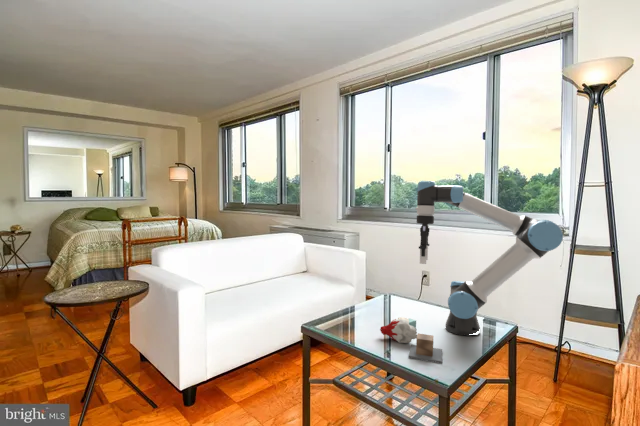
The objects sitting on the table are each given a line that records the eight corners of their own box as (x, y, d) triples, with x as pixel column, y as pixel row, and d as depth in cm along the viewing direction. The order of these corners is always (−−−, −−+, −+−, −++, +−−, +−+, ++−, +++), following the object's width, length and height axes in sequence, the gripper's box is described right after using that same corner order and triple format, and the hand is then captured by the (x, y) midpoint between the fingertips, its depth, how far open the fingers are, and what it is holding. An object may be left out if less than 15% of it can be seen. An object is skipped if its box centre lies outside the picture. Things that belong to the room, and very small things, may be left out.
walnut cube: (433, 350, 136) (433, 335, 136) (432, 356, 130) (433, 340, 130) (417, 348, 138) (417, 333, 138) (416, 354, 132) (416, 338, 132)
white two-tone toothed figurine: (418, 345, 142) (381, 346, 144) (415, 335, 153) (380, 336, 155) (416, 323, 142) (379, 325, 144) (413, 315, 153) (379, 316, 155)
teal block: (415, 328, 164) (416, 320, 164) (408, 331, 160) (408, 322, 160) (408, 326, 167) (409, 318, 167) (401, 329, 163) (401, 320, 163)
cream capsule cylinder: (409, 331, 160) (409, 318, 160) (408, 334, 155) (408, 321, 155) (398, 329, 162) (398, 316, 162) (396, 333, 157) (397, 319, 157)
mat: (442, 351, 138) (442, 349, 138) (442, 363, 127) (442, 361, 127) (411, 346, 142) (411, 344, 142) (408, 357, 131) (408, 355, 131)
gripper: (418, 214, 170) (417, 257, 171) (414, 214, 147) (413, 264, 147) (434, 215, 168) (433, 258, 168) (433, 215, 144) (431, 266, 145)
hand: (423, 261), depth 158 cm, fingers open, 13 cm apart
